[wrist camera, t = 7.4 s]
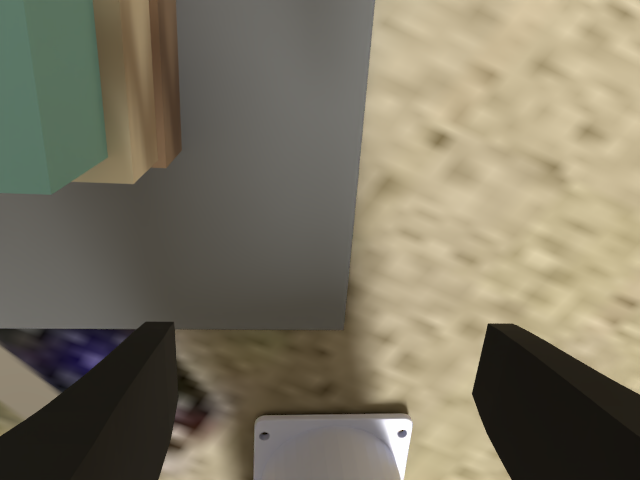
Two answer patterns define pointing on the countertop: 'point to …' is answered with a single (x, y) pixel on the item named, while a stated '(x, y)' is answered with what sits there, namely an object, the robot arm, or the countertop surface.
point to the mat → (215, 188)
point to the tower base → (165, 80)
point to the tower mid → (125, 91)
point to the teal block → (48, 95)
